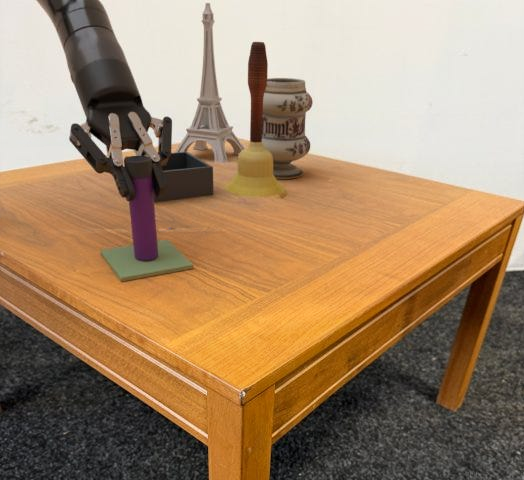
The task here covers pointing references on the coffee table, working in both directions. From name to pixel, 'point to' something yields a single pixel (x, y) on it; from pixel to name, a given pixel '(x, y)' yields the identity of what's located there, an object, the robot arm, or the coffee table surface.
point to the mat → (145, 261)
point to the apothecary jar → (285, 124)
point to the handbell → (256, 137)
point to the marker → (142, 207)
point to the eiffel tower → (210, 106)
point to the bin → (186, 177)
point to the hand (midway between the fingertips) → (146, 195)
